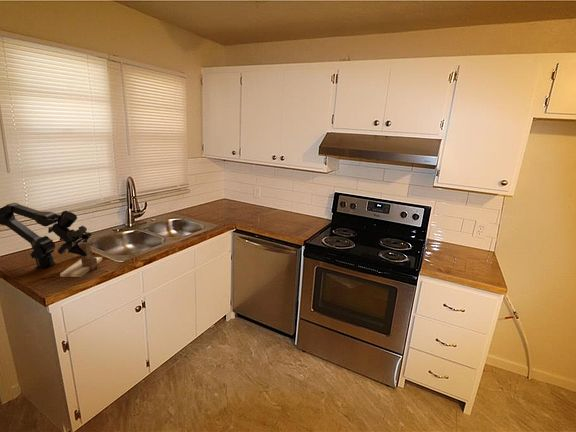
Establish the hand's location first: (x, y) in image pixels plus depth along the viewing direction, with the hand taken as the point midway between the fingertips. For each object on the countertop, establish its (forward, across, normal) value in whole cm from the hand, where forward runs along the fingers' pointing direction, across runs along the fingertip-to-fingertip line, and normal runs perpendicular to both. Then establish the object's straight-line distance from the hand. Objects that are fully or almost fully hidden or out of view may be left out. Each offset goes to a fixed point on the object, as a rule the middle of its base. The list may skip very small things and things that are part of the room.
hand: (88, 254), depth 161 cm
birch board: (+2, 0, +9) cm, 9 cm away
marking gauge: (+5, 0, +7) cm, 8 cm away
